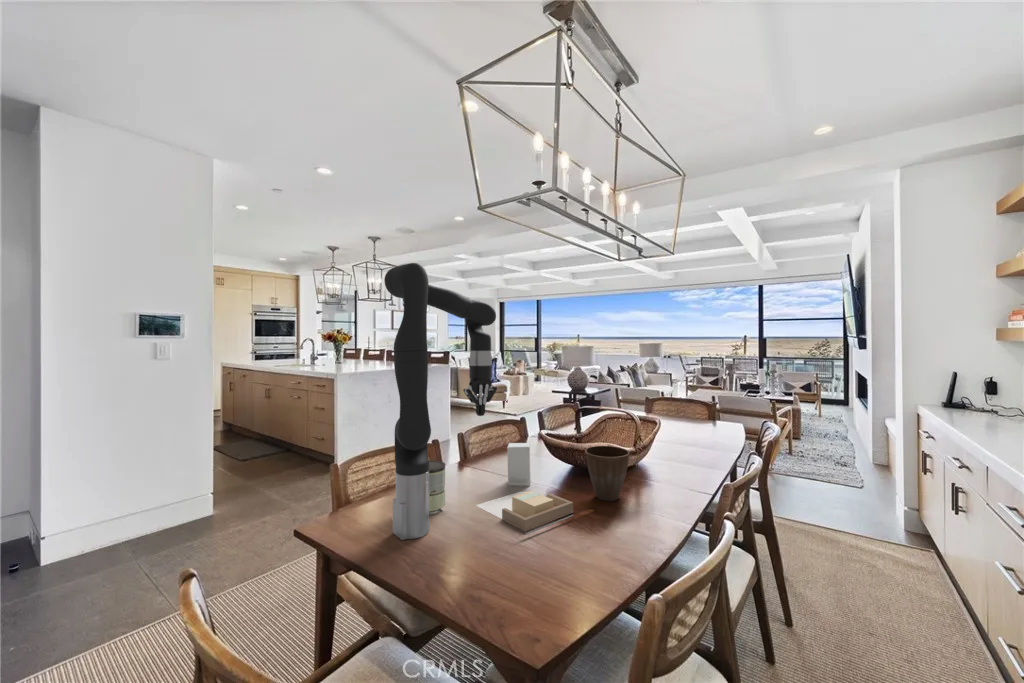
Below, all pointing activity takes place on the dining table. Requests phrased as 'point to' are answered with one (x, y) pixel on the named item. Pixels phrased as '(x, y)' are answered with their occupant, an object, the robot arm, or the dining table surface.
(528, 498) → the carton
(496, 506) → the tan flat tray
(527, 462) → the skincare box
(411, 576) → the dining table surface
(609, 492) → the plant pot
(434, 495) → the coffee can
